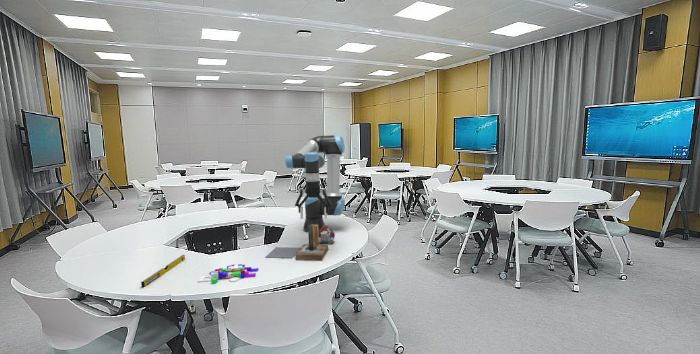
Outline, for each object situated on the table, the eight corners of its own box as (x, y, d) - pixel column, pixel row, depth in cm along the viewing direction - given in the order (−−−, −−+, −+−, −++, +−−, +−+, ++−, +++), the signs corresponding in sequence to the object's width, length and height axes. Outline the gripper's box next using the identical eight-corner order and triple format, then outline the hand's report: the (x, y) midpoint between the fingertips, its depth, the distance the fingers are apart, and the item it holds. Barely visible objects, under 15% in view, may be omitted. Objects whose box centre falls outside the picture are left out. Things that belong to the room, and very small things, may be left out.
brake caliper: (336, 235, 211) (334, 223, 203) (334, 250, 203) (332, 238, 195) (319, 235, 212) (315, 223, 204) (316, 250, 205) (312, 238, 196)
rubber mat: (275, 247, 197) (275, 247, 197) (300, 248, 195) (300, 247, 195) (265, 257, 182) (265, 256, 181) (292, 258, 179) (292, 257, 179)
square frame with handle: (307, 245, 192) (307, 224, 190) (323, 245, 190) (322, 224, 189) (300, 253, 178) (299, 231, 176) (317, 254, 177) (316, 231, 175)
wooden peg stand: (304, 249, 194) (303, 220, 192) (328, 249, 192) (327, 220, 190) (295, 260, 177) (294, 228, 175) (321, 260, 175) (320, 228, 173)
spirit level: (182, 260, 181) (182, 254, 181) (185, 260, 181) (184, 254, 181) (141, 288, 148) (141, 281, 148) (144, 288, 148) (144, 281, 148)
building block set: (260, 265, 173) (259, 256, 172) (254, 282, 153) (253, 272, 152) (209, 268, 170) (208, 259, 169) (196, 286, 149) (195, 276, 149)
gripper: (288, 181, 183) (289, 220, 185) (333, 181, 179) (334, 220, 182) (292, 179, 190) (294, 216, 193) (336, 179, 187) (337, 217, 189)
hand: (313, 218), depth 187 cm, fingers open, 13 cm apart
